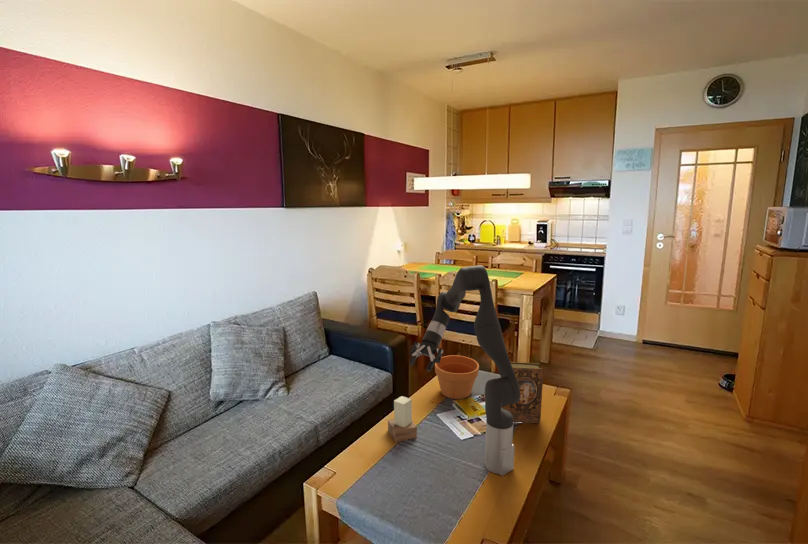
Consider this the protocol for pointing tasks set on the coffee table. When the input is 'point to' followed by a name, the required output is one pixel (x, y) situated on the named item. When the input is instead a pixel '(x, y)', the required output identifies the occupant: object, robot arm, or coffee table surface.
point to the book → (527, 393)
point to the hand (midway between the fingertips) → (419, 368)
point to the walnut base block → (402, 431)
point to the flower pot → (456, 375)
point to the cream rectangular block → (403, 411)
